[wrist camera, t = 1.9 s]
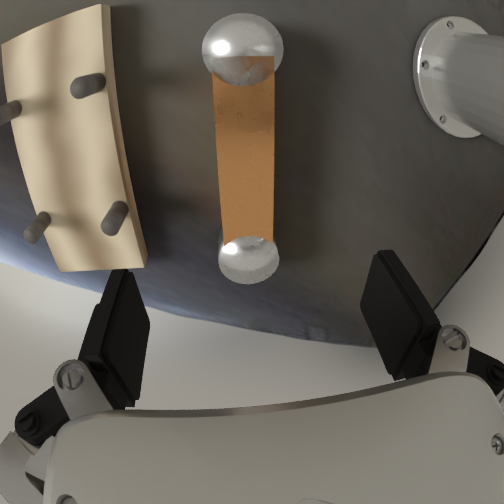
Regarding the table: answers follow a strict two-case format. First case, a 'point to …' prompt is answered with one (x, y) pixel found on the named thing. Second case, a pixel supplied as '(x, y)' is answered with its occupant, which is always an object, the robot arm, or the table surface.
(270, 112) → the orange dumbbell
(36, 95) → the tool rack
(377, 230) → the table surface
